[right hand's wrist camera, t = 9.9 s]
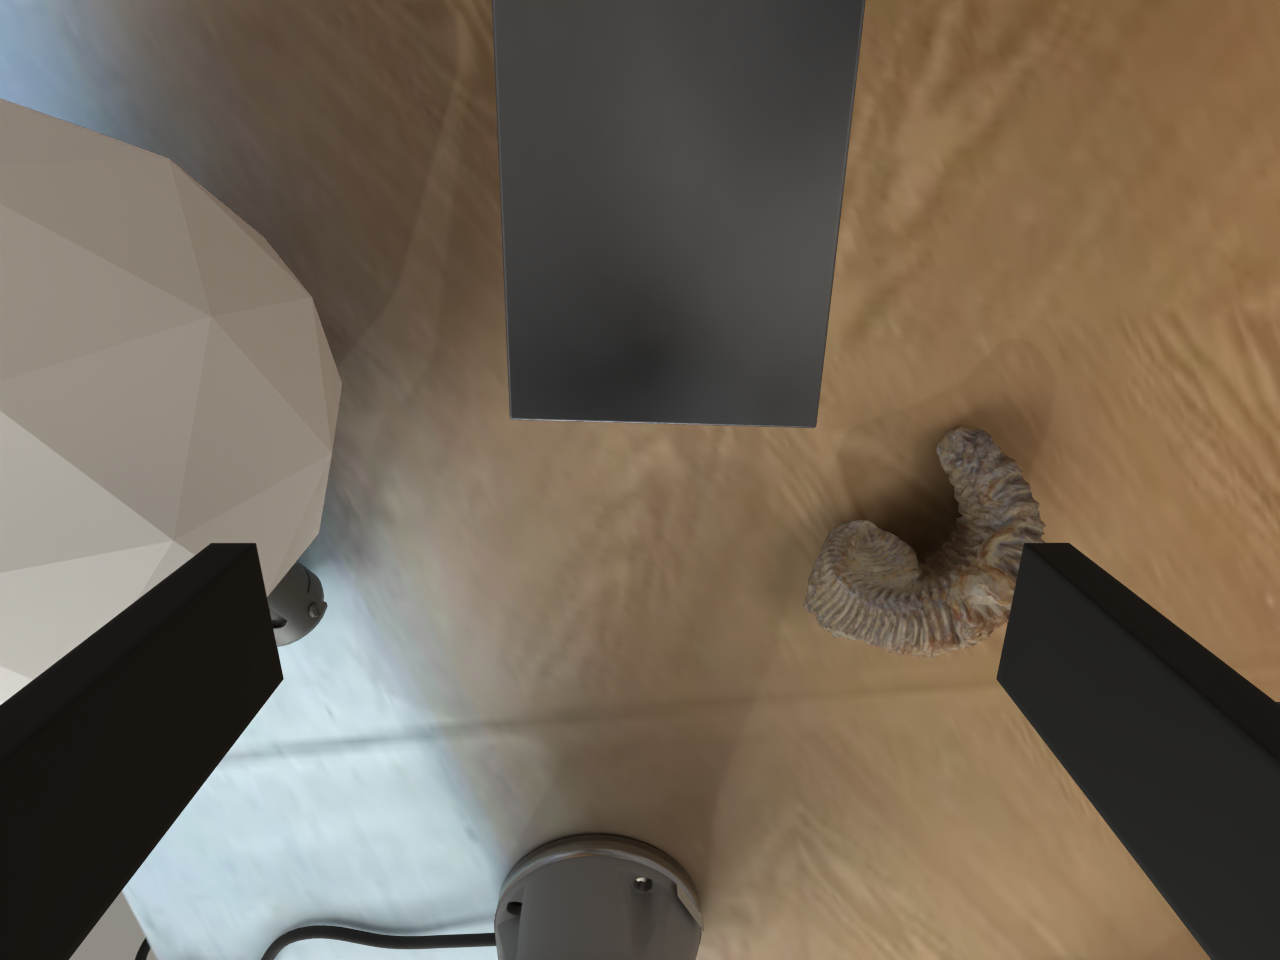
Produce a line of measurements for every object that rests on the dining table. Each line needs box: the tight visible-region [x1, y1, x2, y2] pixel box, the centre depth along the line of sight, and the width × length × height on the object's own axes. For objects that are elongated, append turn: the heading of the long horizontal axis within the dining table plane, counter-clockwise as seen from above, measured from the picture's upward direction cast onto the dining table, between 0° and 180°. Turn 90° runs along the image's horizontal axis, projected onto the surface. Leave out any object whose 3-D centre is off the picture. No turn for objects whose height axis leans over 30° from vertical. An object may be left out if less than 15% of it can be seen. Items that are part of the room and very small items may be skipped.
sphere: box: [0, 98, 342, 705], centre depth 32 cm, size 23×30×24 cm
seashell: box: [803, 427, 1046, 658], centre depth 41 cm, size 14×10×10 cm
